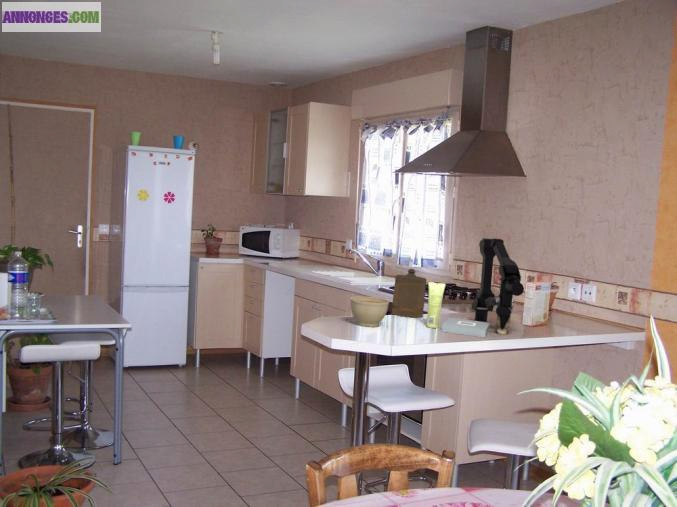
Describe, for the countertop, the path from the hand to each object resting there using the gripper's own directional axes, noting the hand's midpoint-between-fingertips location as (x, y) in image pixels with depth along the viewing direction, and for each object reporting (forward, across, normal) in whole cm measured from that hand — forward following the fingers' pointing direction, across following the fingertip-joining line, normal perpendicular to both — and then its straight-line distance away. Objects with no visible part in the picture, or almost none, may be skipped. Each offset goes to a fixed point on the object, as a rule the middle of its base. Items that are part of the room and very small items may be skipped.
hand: (502, 328), depth 307 cm
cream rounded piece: (+2, 0, 0) cm, 2 cm away
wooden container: (+3, -17, -45) cm, 48 cm away
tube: (+3, +8, -29) cm, 30 cm away
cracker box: (+3, -39, +13) cm, 41 cm away
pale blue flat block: (+2, +4, -15) cm, 16 cm away
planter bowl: (+3, +25, -54) cm, 60 cm away
